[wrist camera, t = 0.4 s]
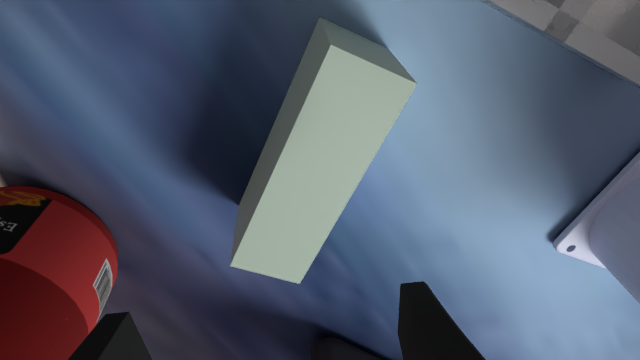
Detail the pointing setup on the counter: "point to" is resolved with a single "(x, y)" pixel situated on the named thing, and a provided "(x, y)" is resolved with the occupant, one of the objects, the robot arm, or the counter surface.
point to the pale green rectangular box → (318, 150)
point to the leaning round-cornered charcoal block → (338, 351)
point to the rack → (586, 29)
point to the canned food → (50, 273)
